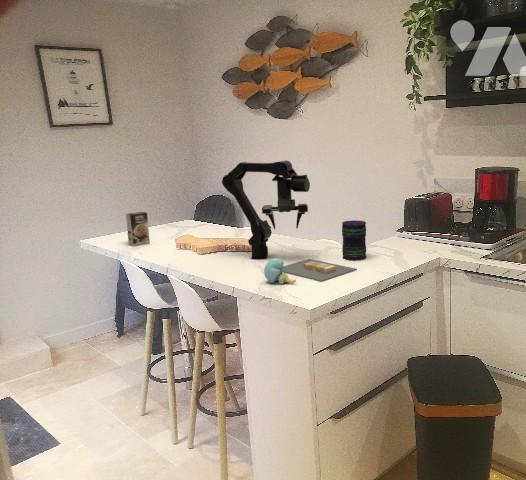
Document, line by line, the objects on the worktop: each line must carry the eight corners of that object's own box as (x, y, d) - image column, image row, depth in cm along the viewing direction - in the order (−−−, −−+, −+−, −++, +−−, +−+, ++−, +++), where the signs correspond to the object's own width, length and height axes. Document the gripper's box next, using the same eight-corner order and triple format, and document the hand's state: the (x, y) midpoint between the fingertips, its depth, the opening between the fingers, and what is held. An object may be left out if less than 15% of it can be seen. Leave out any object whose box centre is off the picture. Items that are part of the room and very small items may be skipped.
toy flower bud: (292, 264, 175) (261, 259, 180) (291, 289, 177) (260, 283, 182) (300, 259, 181) (270, 254, 186) (299, 283, 183) (270, 277, 188)
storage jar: (347, 254, 219) (347, 219, 215) (369, 256, 214) (369, 221, 211) (338, 259, 210) (338, 224, 207) (361, 261, 205) (361, 225, 202)
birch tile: (303, 263, 197) (326, 268, 188) (312, 261, 200) (335, 265, 191) (303, 268, 198) (326, 273, 189) (312, 265, 201) (335, 271, 192)
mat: (273, 270, 199) (273, 268, 199) (309, 259, 212) (309, 258, 212) (321, 281, 181) (321, 280, 181) (356, 270, 194) (356, 268, 194)
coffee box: (133, 246, 255) (130, 214, 252) (128, 244, 260) (125, 213, 257) (150, 243, 261) (147, 212, 257) (144, 241, 266) (141, 211, 262)
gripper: (260, 195, 202) (262, 233, 205) (307, 193, 200) (308, 232, 204) (262, 191, 213) (263, 228, 216) (307, 189, 211) (308, 226, 215)
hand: (285, 229), depth 212 cm, fingers open, 9 cm apart
